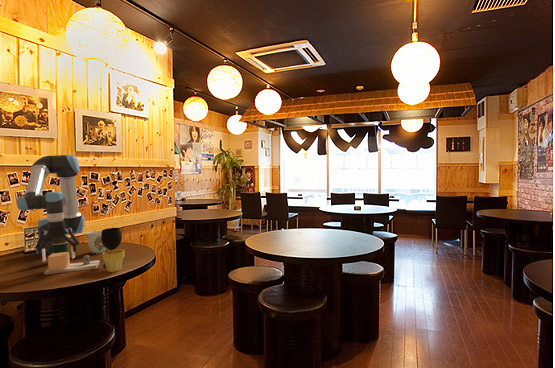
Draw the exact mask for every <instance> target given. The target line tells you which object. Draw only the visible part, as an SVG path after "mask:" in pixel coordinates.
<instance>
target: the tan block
mask: <svg viewBox="0 0 555 368" xmlns="http://www.w3.org/2000/svg"><path fill="white" fill-rule="evenodd" d="M70 259H71V258H70V251H68V252H63V253H53V254H49V255H48V256H47V265H48V266H47V268H49V270H56V269H64V268H67V267H68V266H69V265H70V263H71V261H70Z"/></svg>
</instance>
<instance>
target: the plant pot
mask: <svg viewBox="0 0 555 368" xmlns="http://www.w3.org/2000/svg"><path fill="white" fill-rule="evenodd" d="M124 258H125V250H124V249H115V250H107V251H106V250H105V251H104V252H102V260H103V261H104V264H106V267H105V268H106V270H107V272H109V273H115V272H119V271H121V270H122V266H123V264H122V262H123V263H124V261H123V260H124Z"/></svg>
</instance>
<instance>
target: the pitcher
mask: <svg viewBox="0 0 555 368" xmlns="http://www.w3.org/2000/svg"><path fill="white" fill-rule="evenodd" d="M101 233H102V230H93V231H89V232H88V231H87V232H84V233H83V234H84V235H85V236H87V237H88V240H87V241H88V242H87V243H88V249H89V250H90V252H91V253H92V254H94V253H96V254H101V253H102V254H103V253H104V252H106V250H107V248H106V247H105V246H104V245H103V244H102V241H101Z"/></svg>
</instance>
